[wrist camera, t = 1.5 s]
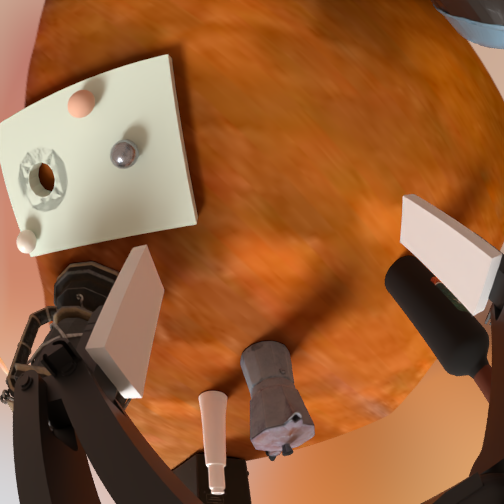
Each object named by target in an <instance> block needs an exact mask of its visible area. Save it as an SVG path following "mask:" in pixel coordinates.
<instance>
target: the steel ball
mask: <svg viewBox="0 0 504 504" xmlns="http://www.w3.org/2000/svg"><path fill="white" fill-rule="evenodd" d="M138 157H139V149H138V147H137V145H136V144H135V143H134V142H133V141H131V140H128V139H123V140H120V141H118V142H116V143H115V144H114V145H113V147H112V148H111V151H110V159H111V162H112V164H113V165H114V166H116V167H117V168H120V169H127V168H130V167H131V166H133V165H134V164H135V163H136V161H137V160H138Z"/></svg>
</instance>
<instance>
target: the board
mask: <svg viewBox="0 0 504 504" xmlns="http://www.w3.org/2000/svg"><path fill="white" fill-rule="evenodd" d="M79 90H88V91H90V92H91V93H92V94H93V95H94V98H95V106H94V108H93V110H92V111H91V113H90V114H88V115H87V116H85V117H82V118H76V117H73V116H72V115H71V114H70V113H69V111H68V101H69V99H70V97H71V96H72V95H73V94H74V93H75V92H77V91H79ZM123 139H128V140H131V141H133V142H134V143H135V144H136V145H137V147H138V149H139V157H138V160H137V161H136V163H135V164H134V165H133V166H131V167H130V168H127V169H120V168H117V167H116V166H114V165H113V164H112V162H111V159H110V151H111V148H112V147H113V145H114V144H115V143H116V142H118V141H120V140H123ZM0 163H1V167H2V172H3V176H4V180H5V184H6V188H7V191H8V194H9V198H10V201H11V205H12V208H13V211H14V214H15V217H16V220H17V222H18V226H19V228H20V231H23V230H31V231H32V232H33V233H34V234H35V236H36V239H37V243H36V247H35V249H34V250H33V251H32V252H30V253H29V254H30V256H31V257H34V256H38V255H42V254H47V253H51V252H56V251H60V250H65V249H69V248H74V247H79V246H84V245H88V244H93V243H98V242H103V241H108V240H113V239H118V238H123V237H129V236H134V235H139V234H144V233H150V232H155V231H161V230H167V229H172V228H178V227H184V226H190V225H196V224H197V220H198V214H197V209H196V204H195V199H194V194H193V189H192V183H191V178H190V173H189V167H188V161H187V156H186V150H185V144H184V138H183V132H182V126H181V120H180V114H179V107H178V100H177V94H176V87H175V79H174V72H173V64H172V58H171V57H170V56H169V55H168V54H166V55H162V56H158V57H154V58H150V59H146V60H143V61H139V62H135V63H132V64H129V65H125V66H122V67H119V68H116V69H113V70H110V71H107V72H104V73H102V74H99V75H96V76H93V77H91V78H88V79H86V80H83V81H81V82H78V83H76V84H74V85H71V86H69V87H67V88H64V89H62V90H60V91H58V92H56V93H54V94H52V95H49V96H47V97H45V98H43V99H41V100H40V101H38V102H36V103H34V104H32V105H30V106H28V107H26V108H25V109H23V110H21V111H19V112H18V113H16V114H14V115H12V116H11V117H9V118H8V119H6V120H4V121H3V122H1V123H0ZM42 163H45V164H48V166H49V167H50V168H51V169H52V170H53V174H54V178H55V184H54V189H53V190H52V191H49V190H46V189H45V188H44V187H43V186H42V185H41V184H40V180H39V176H38V173H39V167H40V166H41V164H42Z"/></svg>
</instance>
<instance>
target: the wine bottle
mask: <svg viewBox="0 0 504 504" xmlns="http://www.w3.org/2000/svg"><path fill="white" fill-rule="evenodd" d="M385 286H386V289H387V290H388V292H389V293H390V294H391V295H392V297H393V298H394V299H395V301H396V302H397V303H398V304H399V306H400V307H401V308H402V310H403V311H404V312H405V314H406V315H407V316H408V318H409V319H410V320H411V322H412V323H413V325H414V326H415V327H416V329H417V330H418V331H419V333H420V334H421V336H422V337H423V338H424V340H425V341H426V343H427V344H428V346H429V347H430V348H431V350H432V351H433V353H434V354H435V356H436V357H437V359H438V360H439V362H440V363H441V364H442V366H443V367H444V369H445V370H446V371H447V372H448V373H449V374H452V375H455V376H463V375H469V376H471V377H472V378H473V379H474V381H475V382H476V384H477V385H478V387H479V388H480V390H481V391H482V393H483V394H484V396H485V397H486V399H487V401H488V402H489V401H490V390H491V374H492V367H491V366H490V365H489V363H488V360H487V352H488V348H489V336H488V334H487V332H486V330H485V329H484V328H483V327H482V325H481V324H480V323H479V322H478V321H477V320H476V318H475V317H474V316H473V315H472V314H471V313H470V312H469V311H468V310H467V308H466V307H465V306H464V305H463V304H462V303H461V302H460V301H459V300H458V299H457V298H456V297H455V296H454V295H453V293H452V292H451V291H450V290H449V289H448V288H447V287H446V286H445V285H444V284H443V283H442V282H441V281H440V280H439V279H438V278H437V277H436V276H435V275H434V274H433V273H432V272H431V271H430V270H429V269H428V268H426V267H425V266H424V265H423V264H422V263H421V262H420V261H419V260H418V259H417V258H416V257H414V256H404V257H402V258H400V259H398V260H397V261H396V262H394V264H393V265H392V266H391V267H390V268H389V270H388V272H387V274H386V277H385Z"/></svg>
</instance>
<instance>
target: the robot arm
mask: <svg viewBox="0 0 504 504" xmlns="http://www.w3.org/2000/svg"><path fill="white" fill-rule="evenodd" d="M431 1H432V3H433V6H434V7H435V8H436V10H437V11H438V12H440V13H441V14H443V15H444V17H445V18H446V19H447V20H448V21H449V22H450V24H451V25H452V26H453V27H454V28H455V30H456V31H457V32H458V33H459V34H460V35H461V36H463V37H464V38H465V39H467V40H469V41H471V42H473V43H477V44H479V45H481V46H485V47H489V48H497V49H504V0H431ZM400 242H401V243H402V244H403V245H404V246H405V247H406V248H407V249H408V250H409V251H411V252H412V253H413V254H414V255H415V256H416V257H417V258H418V259H419V260H420V261H421V262H422V263H423V264H424V265H425V266H426V267H427V268H428V269H429V270H430V271H431V272H432V273H433V274H434V275H435V276H436V277H437V278H438V279H439V280H440V281H441V282H442V283H443V284H444V285H445V286H446V287H447V288H448V289H449V290H450V291H451V292H452V293H453V294H454V295H455V296H456V298H457V299H458V300H459V301H460V302H461V303H462V304H463V305H464V306H465V307H466V308H467V310H468V311H469V312H470V313H471V314H472V315H475V314H477V313H479V312H481V311H483V310H484V309H485V306H486V303H487V301H488V298H489V299H490V300H491V301H492V302H493V303H492V305H491V308H490V311H489V313H488V315H487V318H486V320H485V324H487V322H488V320H489V319H491V322H490V325H491V331H492V374H491V390H490V401H489V410H488V418H487V425H486V431H485V437H484V442H483V447H482V450H481V453H480V455H479V456H478V458H477V459H476V461H475V463H474V465H473V467H472V469H471V472H470V475H469V477H468V478H466V479H465V480H463V481H461V482H460V483H458V484H456V485H455V486H453V487H451V488H449V489H447V490H446V491H444V492H442V493H440V494H438V495H437V496H434V497H433V498H431V499H429V500H427V501H425V502H423V503H421V504H504V254H503V253H501V252H500V251H499V250H497V249H496V248H495V247H494V246H492V245H491V244H489V243H488V242H487V241H486V240H484V239H482V237H480V236H479V235H477V234H476V233H474V232H472V231H471V230H469V229H468V228H467V227H465V226H464V225H462V224H461V223H459V222H458V221H456V220H455V219H453V218H452V217H450V216H449V215H447V214H446V213H444V212H443V211H441V210H439V209H438V208H436V207H435V206H433V205H431V204H430V203H428V202H427V201H425V200H423V199H422V198H420V197H418V196H417V195H415V194H411V195H404V196H403V207H402V224H401V237H400ZM164 291H165V290H164V288H163V285H162V283H161V280H160V278H159V275H158V273H157V270H156V268H155V265H154V262H153V260H152V257H151V254H150V252H149V249H148V246H147V245H142V246H138V247H134V248H132V250H131V252H130V254H129V256H128V258H127V260H126V262H125V263H124V265H123V267H122V269H121V271H120V273H119V275H118V277H117V279H116V281H115V283H114V285H113V287H112V289H111V291H110V293H109V296H108V298H107V300H106V302H105V304H104V305H102V306H99V307H98V308H97V309H96V310H95V311H94V312H93V313H92V315H91V317H90V319H89V321H88V325H86V327H85V330H84V332H83V334H82V336H81V339H80V341H79V343H78V345H77V348H76V349H75V348H74V347H73V345H72V344H71V342H70V341H69V340H68V339H67V338H63V337H62V338H57V339H55V340H53V341H51V342H50V343H49V344H48V345H46V347H45V348H44V349H43V351H42V353H41V356H40V362H41V363H42V364H43V365H44V367H45V368H46V369H47V370H48V371H49V373H50V374H51V375H50V376H47V377H43V378H41V376H40V375H39V374H38V373H37V372H36V371H35V370H28V371H26V372H24V373H22V374H21V376H19V377H18V379H17V381H16V383H15V388H14V402H13V447H14V462H15V473H16V481H17V488H18V495H19V501H20V504H101V502H100V499H99V497H98V494H97V491H96V488H95V484H94V481H93V478H92V474H91V471H90V467H89V464H88V460H87V456H88V458H89V460H90V462H91V464H92V465H93V467H94V469H95V471H96V473H97V474H98V476H99V478H100V479H101V481H102V483H103V484H104V486H105V488H106V489H107V491H108V492H109V494H110V495H111V497H112V498H113V500H114V501H115V503H116V504H204V503H203V502H202V501H201V500H200V499H198V498H197V497H196V496H195V495H194V494H193V493H192V492H191V491H190V490H189V489H188V488H187V487H186V486H185V485H184V483H183V482H182V481H181V480H180V479H179V478H178V477H177V476H176V475H175V474H174V473H173V472H172V471H171V469H170V468H169V467H168V466H167V465H166V464H165V463H164V461H163V460H162V459H161V458H160V457H159V456H158V454H157V453H156V452H155V451H154V450H153V448H152V447H151V446H150V445H149V443H148V442H147V441H146V439H145V438H144V437H143V436H142V434H141V433H140V432H139V430H138V429H137V428H136V426H135V425H134V424H133V422H132V421H131V419H130V418H129V417H128V415H127V414H126V412H125V411H124V409H123V408H122V406H121V405H120V403H119V402H118V401H117V400H116V399H115V395H116V391H117V390H118V391H119V393H120V394H121V395H122V396H123V397H124V398H142V397H143V391H144V385H145V380H146V374H147V369H148V363H149V358H150V353H151V348H152V343H153V339H154V334H155V329H156V325H157V320H158V316H159V311H160V307H161V303H162V299H163V295H164ZM86 454H87V456H86Z"/></svg>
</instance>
